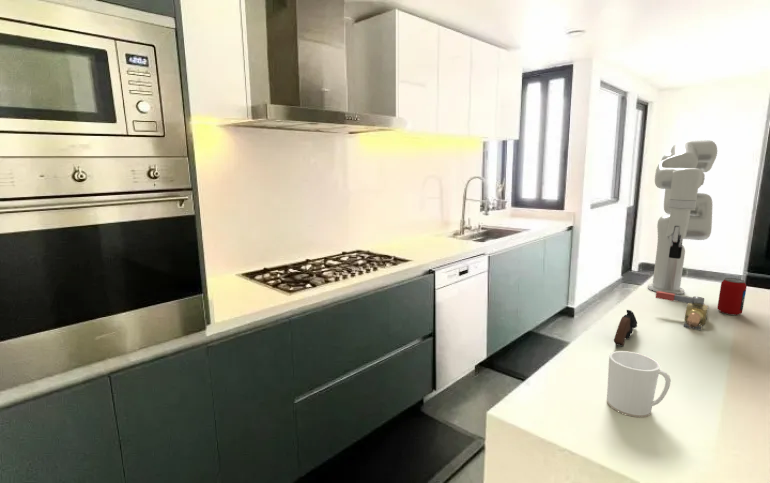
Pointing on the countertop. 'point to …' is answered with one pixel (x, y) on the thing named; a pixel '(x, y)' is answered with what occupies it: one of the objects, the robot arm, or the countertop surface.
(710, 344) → the countertop surface
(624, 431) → the countertop surface
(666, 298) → the lever
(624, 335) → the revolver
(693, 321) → the pipework
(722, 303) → the beverage can
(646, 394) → the mug
